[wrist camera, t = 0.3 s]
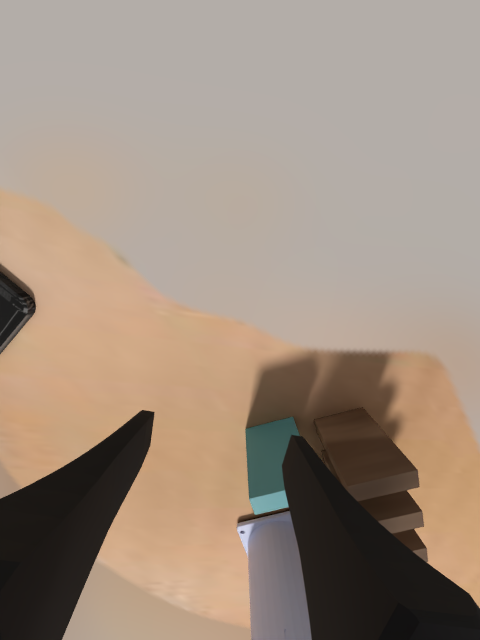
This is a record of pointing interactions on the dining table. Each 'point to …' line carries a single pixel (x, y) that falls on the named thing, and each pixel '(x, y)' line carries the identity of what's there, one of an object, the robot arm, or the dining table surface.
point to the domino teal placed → (268, 463)
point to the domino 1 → (365, 455)
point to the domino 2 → (389, 507)
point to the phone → (13, 310)
